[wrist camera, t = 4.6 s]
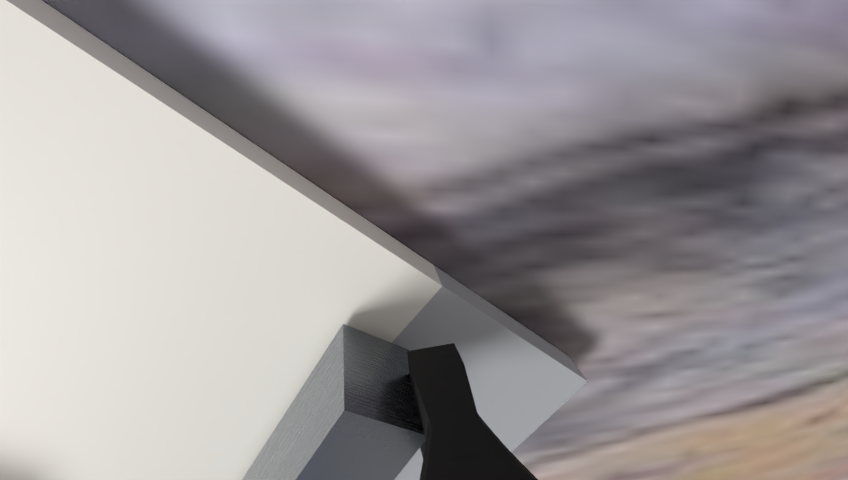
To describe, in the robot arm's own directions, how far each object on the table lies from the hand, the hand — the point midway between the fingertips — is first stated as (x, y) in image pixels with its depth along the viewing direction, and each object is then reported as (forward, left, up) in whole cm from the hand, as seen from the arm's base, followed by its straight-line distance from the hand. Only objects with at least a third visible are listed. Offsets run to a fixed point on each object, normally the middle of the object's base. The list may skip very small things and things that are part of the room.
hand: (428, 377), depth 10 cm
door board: (+3, +6, -2) cm, 7 cm away
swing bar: (+1, +5, -1) cm, 5 cm away
